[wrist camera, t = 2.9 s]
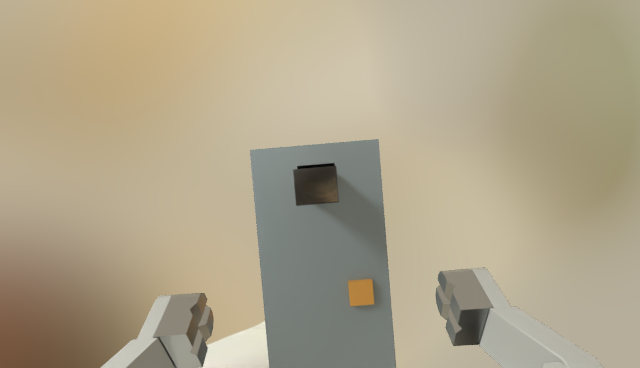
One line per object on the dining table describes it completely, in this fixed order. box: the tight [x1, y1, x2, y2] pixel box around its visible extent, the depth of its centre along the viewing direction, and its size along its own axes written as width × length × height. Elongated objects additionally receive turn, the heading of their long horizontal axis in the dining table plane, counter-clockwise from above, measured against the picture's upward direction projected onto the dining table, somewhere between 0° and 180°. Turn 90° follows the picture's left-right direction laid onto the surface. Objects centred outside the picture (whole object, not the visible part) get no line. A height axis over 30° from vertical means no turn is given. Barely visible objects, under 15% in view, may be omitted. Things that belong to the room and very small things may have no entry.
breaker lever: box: [293, 166, 339, 206], centre depth 32 cm, size 3×16×3 cm, turn 0°
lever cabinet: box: [250, 139, 396, 368], centre depth 38 cm, size 13×11×31 cm
